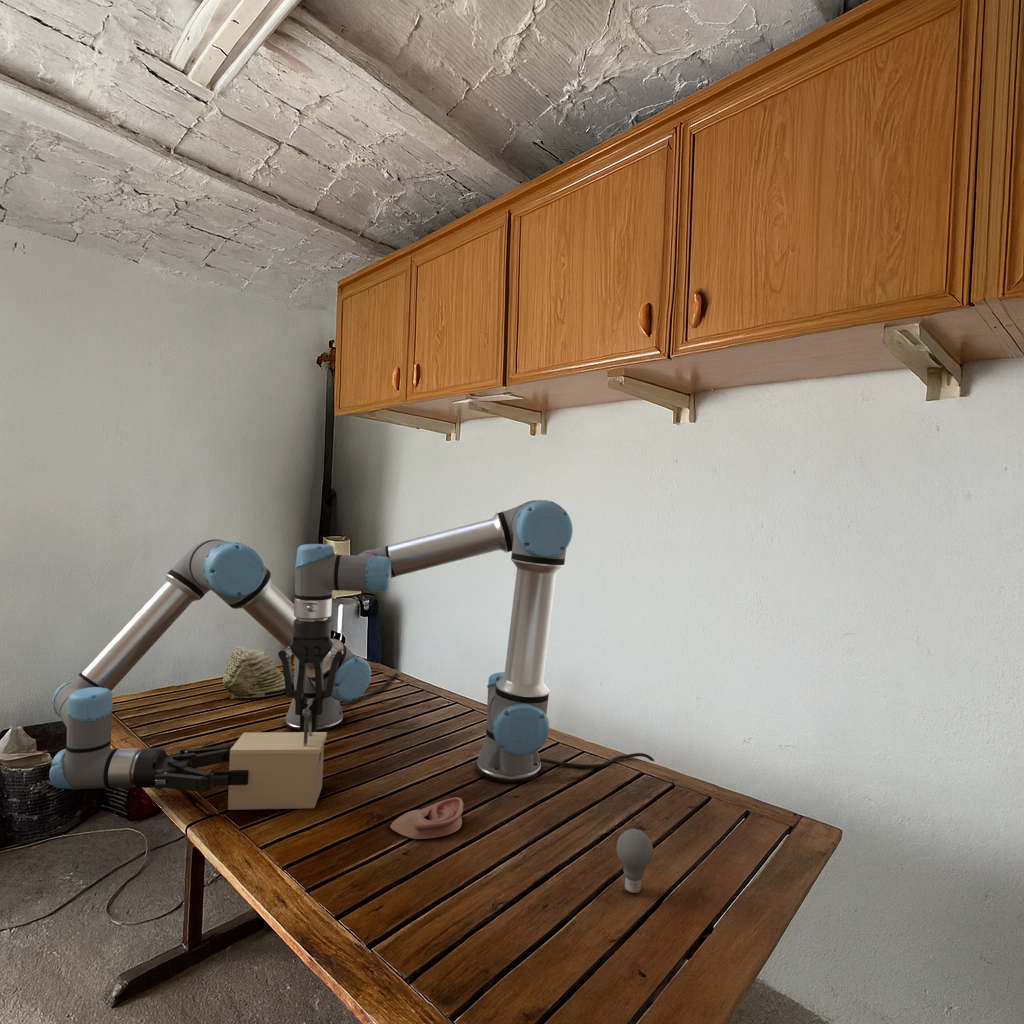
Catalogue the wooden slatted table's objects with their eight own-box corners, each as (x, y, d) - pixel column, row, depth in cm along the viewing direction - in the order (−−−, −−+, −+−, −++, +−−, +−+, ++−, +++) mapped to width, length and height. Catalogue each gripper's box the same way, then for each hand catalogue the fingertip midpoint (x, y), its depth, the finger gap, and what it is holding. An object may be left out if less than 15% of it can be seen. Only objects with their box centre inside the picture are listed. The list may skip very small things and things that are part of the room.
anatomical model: (384, 813, 120) (406, 787, 131) (383, 834, 120) (405, 806, 131) (452, 824, 117) (468, 796, 128) (451, 845, 117) (467, 815, 128)
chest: (322, 787, 138) (324, 736, 138) (314, 808, 129) (316, 754, 129) (241, 788, 136) (243, 737, 136) (227, 810, 127) (229, 755, 126)
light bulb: (610, 879, 108) (613, 822, 108) (644, 879, 109) (647, 822, 109) (619, 902, 102) (622, 840, 102) (655, 901, 103) (658, 840, 103)
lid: (326, 736, 138) (328, 696, 138) (319, 754, 129) (321, 711, 129) (243, 736, 136) (245, 696, 136) (229, 754, 126) (231, 710, 126)
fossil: (218, 695, 195) (220, 647, 195) (278, 685, 208) (279, 640, 207) (228, 703, 189) (230, 653, 188) (289, 692, 201) (290, 645, 201)
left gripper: (161, 763, 140) (267, 762, 143) (112, 813, 118) (238, 810, 121) (163, 729, 140) (268, 729, 143) (113, 773, 118) (239, 771, 121)
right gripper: (271, 621, 128) (267, 736, 128) (346, 622, 130) (342, 736, 130) (280, 614, 135) (276, 723, 136) (350, 615, 137) (346, 723, 138)
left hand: (254, 766), depth 132 cm, fingers closed on chest, 9 cm apart
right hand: (308, 729), depth 133 cm, fingers closed on lid, 2 cm apart
